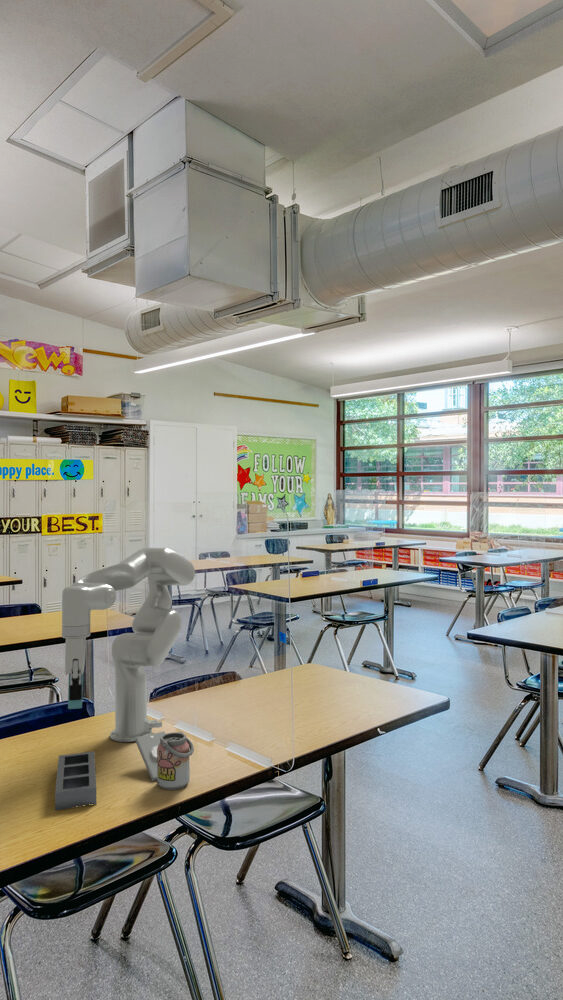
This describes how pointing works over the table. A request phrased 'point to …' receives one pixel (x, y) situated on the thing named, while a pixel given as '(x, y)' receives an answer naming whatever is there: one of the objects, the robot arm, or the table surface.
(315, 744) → the table surface
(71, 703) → the square peg
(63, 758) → the hole rail
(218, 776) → the table surface
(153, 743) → the light switch
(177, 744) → the beverage can
